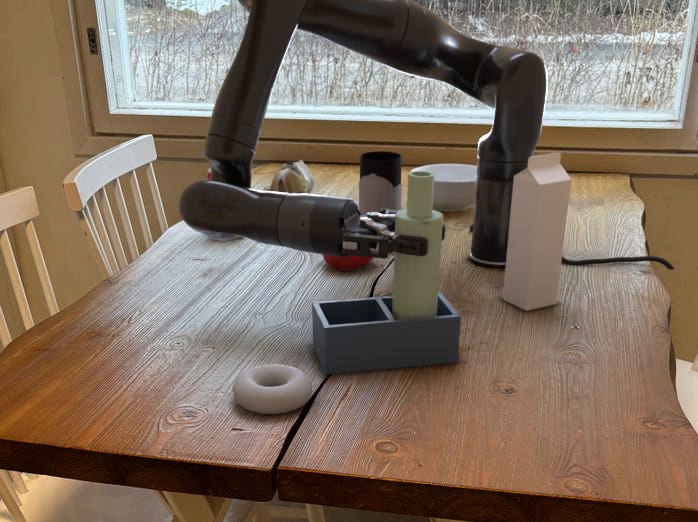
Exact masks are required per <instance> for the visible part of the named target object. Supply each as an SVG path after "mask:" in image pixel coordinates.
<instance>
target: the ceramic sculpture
mask: <svg viewBox="0 0 698 522" xmlns="http://www.w3.org/2000/svg"><path fill="white" fill-rule="evenodd" d="M314 187H315V178H314V177H313V175H312V172H311V170H310V168H309V167H308V166H307V165H306V164H305V163H304V161H303V160H302V159H299V160H298V161H296V162H295V161H289V160H288V161H286V162H285V163H284V164H283V165H282V167H281V169H278V170H277V171H276V173H275V174H273V178H272V180H271V184H270V185H268V186H264V188H263V189H262V190H261V191H273V192H282V193H290V194H312V192H313V190H314Z"/></svg>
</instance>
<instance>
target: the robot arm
mask: <svg viewBox="0 0 698 522" xmlns="http://www.w3.org/2000/svg"><path fill="white" fill-rule="evenodd" d="M237 2H238V3H239V5H240V6H241V7H242V8H243V9H244V10H245V11H246V12H247V13H248V18H247V22H246V27H245V29H244V33H243V36H242V39H241V42H240V44H239V47H238V49H237V52H236V54H235V56H234V59H233V61H232V63H231V65H230V66H229V70H228V72H227V74H226V76H225V78H224V79H223V82H222V84H221V86H220V89H219V91H218V94H217V97H216V99H215V102H214V106H213V109H212V112H211V116H210V120H209V124H208V128H207V131H206V136H205V140H204V144H203V156H204V158H205V160H206V161H207V162H208V164H209V166H210V168H211V178H210V179H206V178H203V179H202V178H201V179H197V180H194V181H192V182H190V183H188V184H187V185H186V186H185V187H184V188H183V189H182V191H181V193H180V195H179V198H178V203H177V205H178V207H177V208H178V212H179V215H180V218H181V219H182V221H183V222H184V223H185V224H186V226H188V227H189V228H190V229H192V230H194V231H196V232H198V233H199V234H202V235H204V236H207V237H208V238H211V239H213V240H217V241H222V242H225V241H230V240H233V239H232V238H234V237H235V236H236V235H238V236H240V237H243V238H246V239H248V240H250V241H253V242H255V243H258V244H259V243H260V244H262V245H269V246H275V247H276V246H277V247H283V248H289V249H292V250H296V251H299V252H303V253H304V252H305V253H312V254H318V255H322V254H324V255H331V256H338V257H347V256H349V255H354V256H364V257H374V258H373V259H375V258H377V259H382V260H383V259H384V260H385V259H388V258H389V255H390V256H394V255H397V254H398V252H399V253H401V254H408V255H415V256H422V257H423V256H425V255H426V254H427V253H428V239H427V238H424V237H416V236H408V235H400V236H399V238H398V234H396V233H393V232H392V231H395V216H396V213H397V212H398V211H395V210H389V209H385V208H383V209H380V213H378V212H373V213H368V214H367V215H362V214H361V213H360V212H359V205H358V204H357V202H356V201H355V200H353V199H352V198H347V197H337V196H332V195H331V196H330V195H321V194H314V193H310V194H290V193H282V192H273V191H262V190H260V189H259V190H258V189H254V188H253V189H252V166H253V161H254V158H255V154H256V151H257V149H258V148H257V147H258V144H259V140H260V137H261V133H262V130H263V125H264V122H265V118H266V114H267V110H268V107H269V104H270V100H271V96H272V94H273V91H274V87H275V84H276V82H277V79H278V75H279V72H280V70H281V67H282V64H283V61H284V59H285V57H286V54H287V52H288V48H289V46H290V43H291V41H292V40H293V39H292V38H293V37H294V34H295V32H296V30H300V31H303V32H306V33H309V34H313V35H315V36H318V37H321V38H323V39H325V40H326V41H328V42H331V43H333V44H335V45H337V46H339V47H342V48H344V49H346V50H348V51H351V52H353V53H355V54H358V55H359V56H362V57H365V58H367V59H369V60H372V61H373V62H375V63H378V64H380V65H383V66H384V67H388V68H390V69H393V70H395V71H397V72H400V73H403V74H406V75H410V76H412V77H413V76H414V77H416V78H421V79H426V80H431V81H435V82H436V81H437V82H441V83H443V84H446V85H448V86H450V87H453V88H455V89H457V90H458V91H460V92H462V93H463V94H466V95H467V96H469V97H471V98H472V99H474V100H476V101H477V102H479V103H481V104H482V105H484V106H485V107H487V108H489V109H492V110H494V113H493V120H492V127H491V130H490V132H488V133H487V134H485V135H482V137H480V139H479V141H478V145H477V155H476V157H477V158H476V166H477V171H476V186H475V201H474V205H473V218H472V224H470V225H469V231H468V234H471V245H470V255H469V259H470V260H471V261H472V262H473V263H475V264H478V265H481V266H485V267H491V268H492V267H493V268H506V258H507V247H508V236H509V225H510V214H511V203H512V192H513V181H514V176H515V175H516V174H518V173H520V172H521V171H523V170H525V169H526V168H527V167H528V159H529V157H532V156H535V151H536V147H537V145H538V143H539V140H540V138H541V134H542V130H543V123H544V122H543V121H544V115H545V110H546V104H547V98H548V97H547V96H548V84H549V77H548V69H547V66H546V64H545V62H544V60H543V58H542V57H540V56H539V54H537V53H535V52H532V51H529V50H524V49H521V48H520V49H519V48H515V47H510V46H504V45H498V44H493V43H489V42H486V41H482V40H479V39H476V38H474V37H470V36H467V35H465V34H464V33H461V32H460V31H458V30H456V29H455V28H454V27H453V26H452V25H450V23H448V22H447V21H446V20H445V19H444V18H442V17H441V16H439V14H437V13H436V12H434V11H432V10H431V9H429V8H427V7H425V6H424V5H422V4H419V3H417V2H415V1H412V0H237ZM446 228H447V227H446V225H445V224H444V223H443V225H442V241H441V242H443V241H444V240H445V238H446ZM641 262H656V263H659V264H661V265H664V267H665V268H667V269H668V270H671V271H672V270H673V271H674V270H675V267H674V266H673V264H671V263H670V261H668V260H667V259H665V258H663V257H660V256H656V255H643V256H642V255H641V256H617V257H616V256H615V257H607V258H587V259H580V260H571V259H568V258H565V257H564V256H563V255H562V260H561V264H563V265H569V266H587V265H603V264H604V265H605V264H614V263H641Z"/></svg>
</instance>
